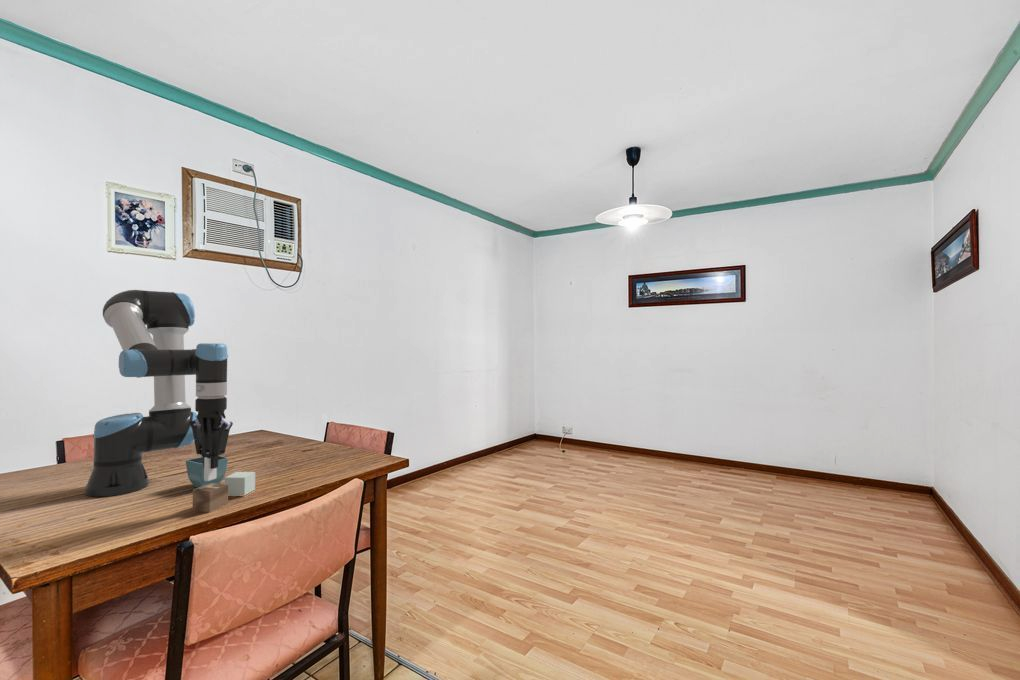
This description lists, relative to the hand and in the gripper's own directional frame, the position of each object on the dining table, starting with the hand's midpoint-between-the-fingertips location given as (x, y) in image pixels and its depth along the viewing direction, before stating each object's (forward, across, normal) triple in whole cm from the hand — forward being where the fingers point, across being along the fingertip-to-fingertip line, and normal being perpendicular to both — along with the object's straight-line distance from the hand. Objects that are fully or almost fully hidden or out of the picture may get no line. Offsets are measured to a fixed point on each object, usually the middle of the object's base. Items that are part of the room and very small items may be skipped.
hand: (210, 479), depth 130 cm
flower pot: (+8, -17, +15) cm, 24 cm away
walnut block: (+2, 0, 0) cm, 2 cm away
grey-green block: (+8, -1, +12) cm, 15 cm away
